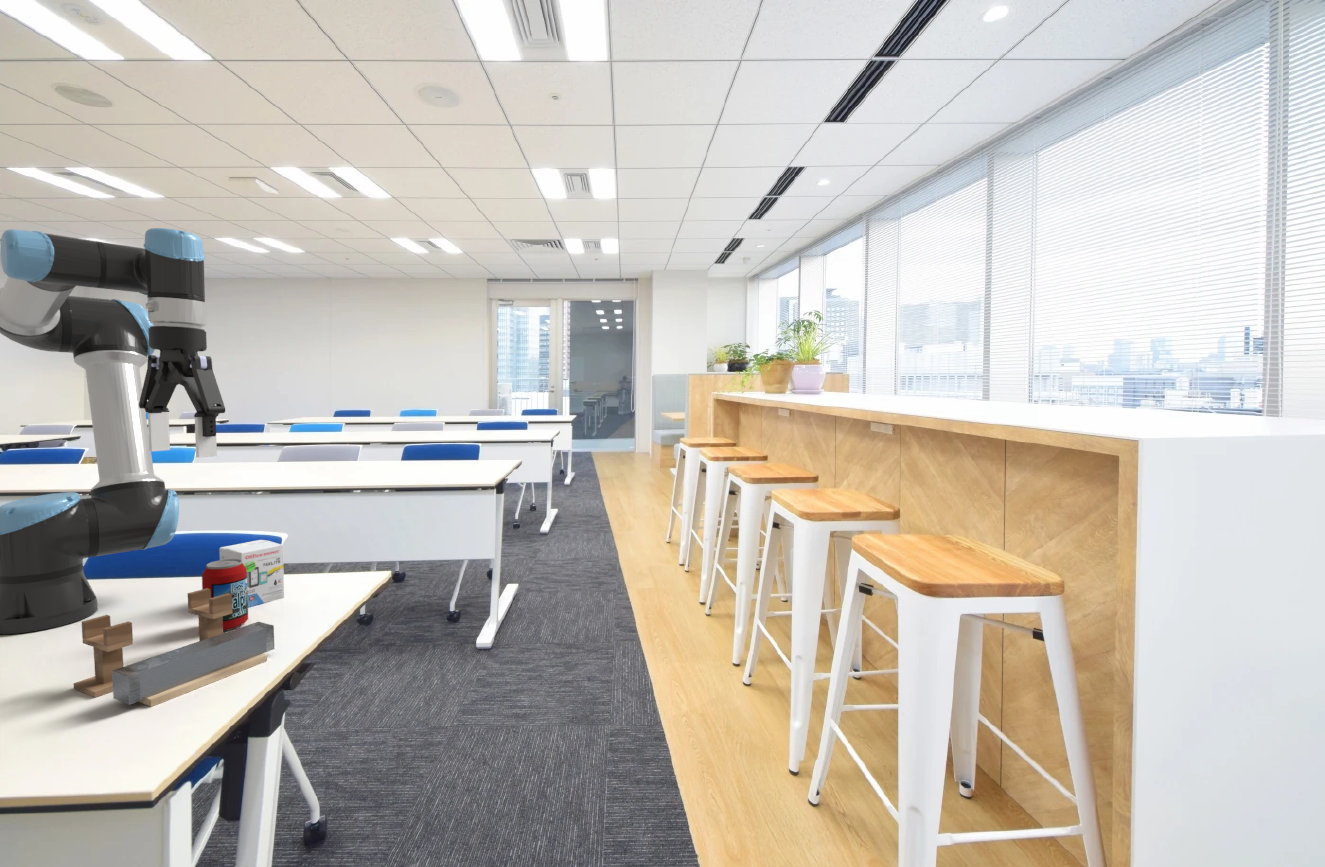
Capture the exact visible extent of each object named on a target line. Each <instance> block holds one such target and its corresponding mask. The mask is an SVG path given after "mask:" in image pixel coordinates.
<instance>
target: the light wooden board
mask: <svg viewBox="0 0 1325 867" xmlns="http://www.w3.org/2000/svg"><path fill="white" fill-rule="evenodd" d="M267 656H268V655H267V654H265V653H263V654H260V655H258V656H255V657H252V658H250V659H247V660H245V661H242V662H239V663H237V664H234V665H232V666H229V667H226V668H224V669H221V670H219V671H216V672H213V673H211V674H208V675H206V676H203V677H200V678H198V679H195V680H193V681H190V682H187V683H185V684H182V685H180V686H177V687H174V688H172V689H169V690H167V691H164V692H161V693H159V694H156V695H154V696H151V697H148V698H146V699H143V700H141V701H138V702H139V703H141V704H144V705H146V706H148V707H154V706H157V705H159V704H163V703H165V702H166V701H170V700H171V699H172V700H173V699H174V698H177V697H179V696H182V695H184V694H187V693H189V692H192V691H194V690H196V689H200V688H202V687H205V686H207V685H209V684H212V683H215V682H217V681H219V680H222V679H224V678H228V677H229V676H232V675H235V674H237V673H239V672H242V671H245V670H247V669H250V668H252V667H254V666H256V665H257V666H258V665H260V664H262V663H265V662H267V661H268V659H267V658H268V657H267Z"/></svg>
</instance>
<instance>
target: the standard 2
mask: <svg viewBox="0 0 1325 867" xmlns="http://www.w3.org/2000/svg"><path fill="white" fill-rule="evenodd" d="M187 609H188V613H189V614H193V615H197V616H198V635H199V636H198V637H199V638H198V639H199V641H202V640H205V639H208V638H211V637H214V636H217V635H220V634H223V633H224V631H223V616H225V615H229V614H232V613H233V612H232V594H229V593H228V594H224V595H220V596H217V597H213V598H211V593H210V589H208V588H206V589H199V590H195V591H191V592H188V593H187ZM199 641H196V642H199ZM196 642H193V643H196ZM193 643H190V644H193ZM190 644H187V645H190ZM187 645H184V646H187ZM184 646H182V647H184Z"/></svg>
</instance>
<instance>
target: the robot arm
mask: <svg viewBox="0 0 1325 867" xmlns="http://www.w3.org/2000/svg"><path fill="white" fill-rule="evenodd" d="M203 244H204V243H203V240H202V238H200V236H199V235H197V234H195V233H192V232H188V231H186V230H185V231H184V230H179V229H173V228H162V227H152V228H149V229H147V230H146V231H145V233H144V243H143V248H142V247H136V246H130V245H125V244H124V245H123V244H116V243H110V242H104V241H103V242H102V241H96V240H90V239H84V238H77V237H70V236H65V235H59V234H53V233H47V232H46V233H45V232H42V231H38V230H23V229H14V228H13V229H6V230H5V231H4V232H3V233H2V234H1V242H0V259H1V267H2V271H3V272H4V274H5V275H6V276H7V279H6V281H5V283H4V285H3V287H1V288H0V334H1V335H2V336H4V337H6V338H7V339H9V340H10V341H12V342H15V343H17V344H19V345H22V346H23V347H27V348H30V349H35V350H39V351H45V352H51V353H52V352H53V353H71V354H72V356H73V362H74V363H75V364H76V365H77V366H79V367H81V368H82V369H84V372H85V377H86V385H87V391H88V400H89V409H90V410H89V411H90V416H91V423H92V424H91V426H92V432H93V440H94V448H95V456H96V463H97V472H98V481H97V483H96V484H95V485H94V486H93V487H91V489H90V497H87V498H81V496H80V494H79V493H78V492H75V491H65V492H59V493H55V492H54V493H48V494H41V495H37V496H30V497H26V498H22V499H17V500H14V501H13V500H12V501H10V502H7V503H4V504H2V505H0V635H13V634H21V633H22V634H23V633H30V632H32V633H33V632H37V631H44V630H47V629H49V630H50V629H54V628H57V627H61V626H66V625H69V624H72V623H75V622H78V621H81V620H85V619H86V618H88V617H90V616H92V615H94V614H95V613H96V612H97V611H99V610H98V608H99V606H98V599H97V598H98V597H97V596H96V594H95V592H94V590H93V589H92V586H91V584H90V583H89V581H88V579H87V577H86V575H85V573H84V562H83V561H84V559H87V558H94V557H100V556H106V555H113V554H119V553H126V552H131V551H132V552H133V551H139V550H141V551H144V550H147V549H149V548H155V547H160V546H164V545H167V544H168V543H170V542H171V541H172V540H173V538H174V536H175V535H176V532H177V529H178V526H179V525H178V524H179V519H180V517H179V516H180V502H179V497H178V494H177V492H176V490H173V489H169V488H168V489H166V485H165V481H164V479H161V478H160V477H158V476H156V475H155V471H154V466H153V465H154V464H153V457H152V452H162V451H171V443H170V414H169V413H170V409H169V408H168V405H169V403H170V400H171V398H172V397H173V394H174V392H175V390H176V387H177V386H178V385H180V386H182V387H183V388H184V390H185V391H186V394H187V395H188V398H189V399H190V402H191V404H192V405H193V407H194V409H195V411H196V412H195V413H194V415H193V417H194V431H195V432H194V435H195V436H194V437H195V458H208V457H217V456H218V450H217V448H218V447H217V422H216V420H217V417H218V416H219V415H220V414H225V413H226V407H225V403H224V401H223V398H222V394H221V392H220V388H219V386H218V382H217V379H216V376H215V374H214V371H213V370H214V369H213V361H212V357H211V355H210V356H207V355H199V354H198V352H205V351H207V348H208V345H207V344H208V343H207V342H208V340H207V331H205V329H203V327H205V326H206V325H207V314H206V313H207V312H206V311H207V307H206V294H205V293H206V292H205V285H206V284H205V260H206V256H205V254H204V246H203ZM75 287H83V288H84V287H87V288H94V289H104V290H114V291H125V292H132V293H139V294H142V295H144V296H146V297H147V303H145V308H144V307H143V306H142V305H141V304H139V303H136V302H131V301H126V300H120V299H116V298H111V299H108V298H106V299H105V298H97V297H96V298H95V297H84V296H75V295H74V296H73V295H70V294H71V293H72V292H73V291H74V289H75ZM146 309H147V310H146ZM155 350H159V352H160V353H159V355H156V354H155V355H153V354H154V353H155ZM146 363H147V364H146ZM145 364H146V366H147V367H146V372H145V375H144V376H145V377H144V380H143V384H142V378H141V371H140V369H141V368H142V367H143V366H144V365H145ZM142 385H143V386H142ZM146 413H147V414H146ZM146 415H147V416H146Z"/></svg>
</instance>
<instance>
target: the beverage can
mask: <svg viewBox="0 0 1325 867" xmlns="http://www.w3.org/2000/svg"><path fill="white" fill-rule="evenodd" d="M201 588H202V589H206V588H208V589H210V593H211V598H213V597H217V596H220V595H224V594H228V593H229V594H232V612H233V613H232V614H229V615H225V616H223V632H225V631H232V630H235V629H238V628H240V627H242V625H243V624H245V623H246V622H247V621H248V620H249V607H248V591H247V569H246V567H245V566H244V565H243V563H242V560H239V559H226V560H220V559H219V560H215V561H210V562H209V563H207V564H206V567H205V569H204V571H203V572H202V573H201ZM202 589H201V590H202Z"/></svg>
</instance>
